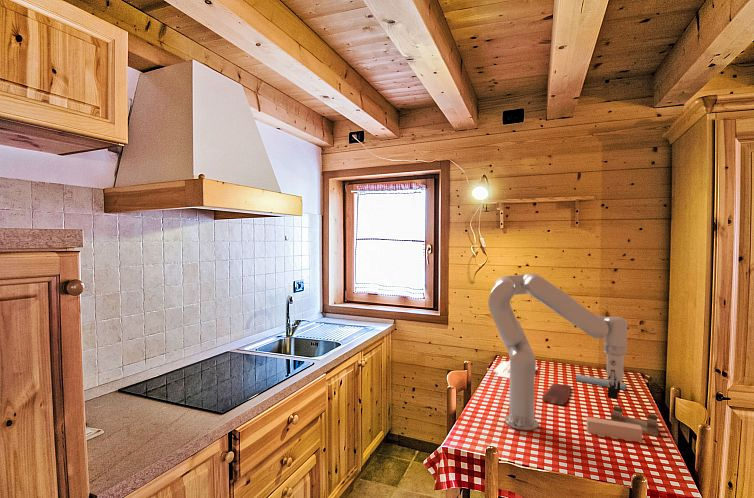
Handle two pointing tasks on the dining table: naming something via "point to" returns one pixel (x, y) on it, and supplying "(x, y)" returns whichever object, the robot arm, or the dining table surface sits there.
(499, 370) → the tray
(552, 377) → the dining table surface
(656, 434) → the rack
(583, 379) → the grey tube
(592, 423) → the clay strip
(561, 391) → the wooden tablet
